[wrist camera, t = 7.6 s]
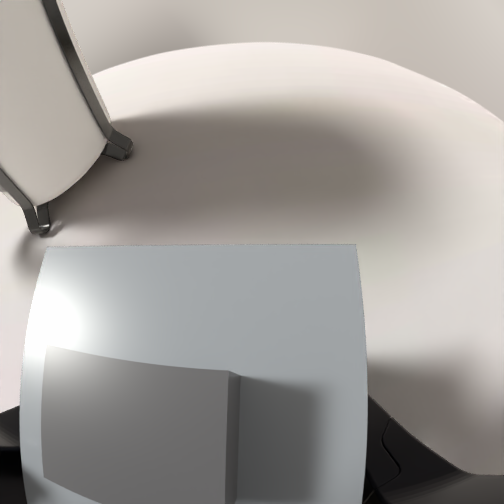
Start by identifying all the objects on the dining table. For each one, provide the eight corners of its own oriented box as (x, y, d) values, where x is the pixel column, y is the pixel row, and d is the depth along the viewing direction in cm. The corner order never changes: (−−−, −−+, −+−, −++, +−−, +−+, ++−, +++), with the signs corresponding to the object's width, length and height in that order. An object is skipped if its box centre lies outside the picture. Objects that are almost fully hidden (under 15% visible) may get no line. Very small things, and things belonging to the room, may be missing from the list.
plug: (293, 352, 15) (376, 201, 3) (291, 444, 12) (363, 614, 1) (198, 350, 15) (12, 217, 3) (194, 439, 13) (-9, 523, 1)
